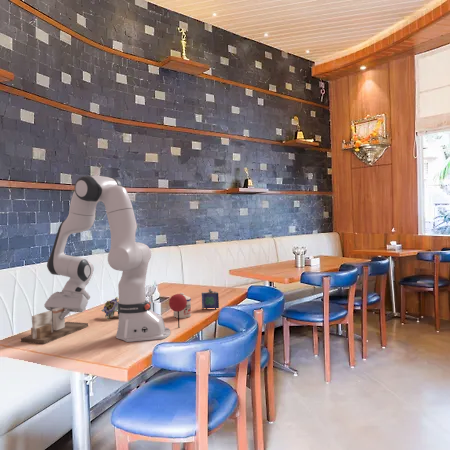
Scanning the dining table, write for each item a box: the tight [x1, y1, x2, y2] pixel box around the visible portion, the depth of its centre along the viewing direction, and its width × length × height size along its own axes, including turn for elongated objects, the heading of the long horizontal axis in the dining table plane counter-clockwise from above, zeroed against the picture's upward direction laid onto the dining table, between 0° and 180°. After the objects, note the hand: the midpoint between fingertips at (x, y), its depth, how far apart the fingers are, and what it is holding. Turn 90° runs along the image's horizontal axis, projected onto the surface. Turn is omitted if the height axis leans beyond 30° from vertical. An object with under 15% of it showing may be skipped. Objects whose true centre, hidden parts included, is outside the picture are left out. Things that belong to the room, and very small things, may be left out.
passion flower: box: [101, 296, 119, 320], centre depth 203 cm, size 11×11×12 cm
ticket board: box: [20, 310, 89, 345], centre depth 176 cm, size 27×12×11 cm, turn 160°
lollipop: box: [168, 293, 187, 328], centre depth 179 cm, size 8×8×15 cm
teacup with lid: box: [173, 292, 192, 319], centre depth 201 cm, size 12×9×12 cm
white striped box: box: [52, 308, 66, 330], centre depth 177 cm, size 5×2×9 cm, turn 160°
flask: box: [201, 288, 220, 309], centre depth 214 cm, size 9×3×11 cm, turn 79°
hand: (57, 318), depth 177 cm, fingers closed on white striped box, 2 cm apart
